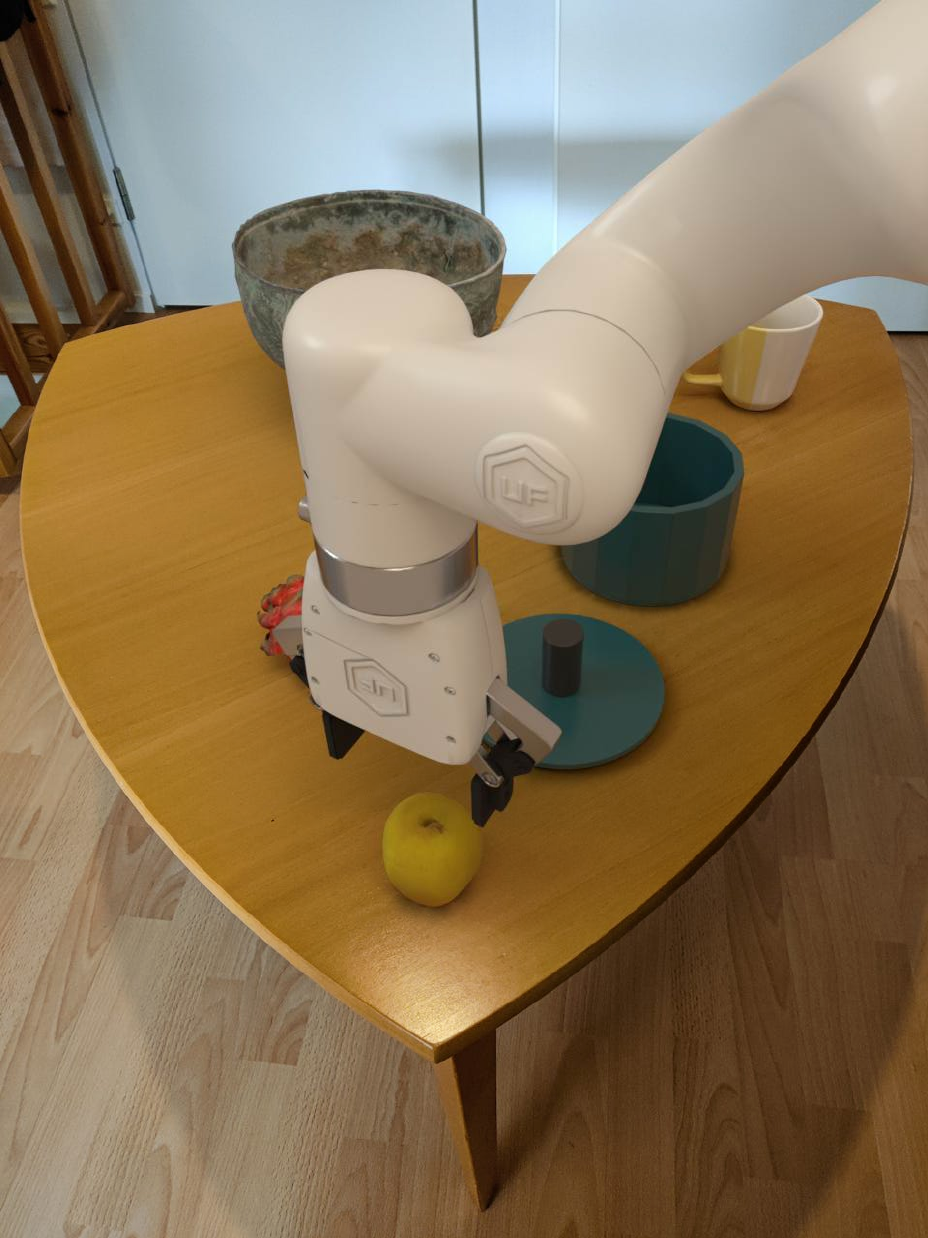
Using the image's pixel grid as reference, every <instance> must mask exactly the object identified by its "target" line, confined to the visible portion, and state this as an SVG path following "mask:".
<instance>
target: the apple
mask: <svg viewBox="0 0 928 1238" xmlns="http://www.w3.org/2000/svg"><path fill="white" fill-rule="evenodd" d="M392 810H393V811H391V813H390V815H389V816H388V818H387V819H386V821H385V824H384V827H383V833H382V837H381V838H382V839H381V851H382V853H381V854H382V860H383V866H384V871H385V874H386V876H387V878H388V880H389V882H390V883H391V885H393V886H394V888H395V889H397V890H398V892H400V893H401V894H402V895H403V896H404V897H405V898H407V899H409V900H410V901H412V902H414V903H416V904H420V905H423V906H427V907H430V908H431V907H432V908H438V907H441V906H444V905H447V904H449V903H450V902H452V901H453V900H454V899H455V900H456V898H457V897H458V896H459V895H460V894H461V893H462V892H463V890H464V889H465V888H466V887H467V886H468V885H469V883H470V882H471V881H472V880H473V878H474V876H475V875H476V873H477V872H478V870H479V867H480V865H481V862H482V858H483V840H482V835H481V831H480V828H479V826H478V825H476V824H474V821H473V820H472V813H470V812H469V811H468V809H467V808H466V807H465V806H464V805H463V804H461V803H460V802H458V801H456V800H454V799H453V798H451V797H449V796H447V795H445V794H441V793H438V792H437V793H436V792H431V791H429V792H428V791H427V792H425V791H424V792H417V793H414V794H412V795H410V796H408V797H406V798H404V799H403V800H402V801H400V802H399V803H398V804H397V805H396V806H395V807H394V809H392Z"/></svg>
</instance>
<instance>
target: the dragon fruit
mask: <svg viewBox="0 0 928 1238" xmlns="http://www.w3.org/2000/svg"><path fill="white" fill-rule="evenodd" d="M304 577H305V575H302V574H293V575H290V576H288V577H287V579H286V583H279V584H278V585H277V586H276V587H272V588H271V590H270V592H268V593H267V594H264V595H262V599H261V600H260V607H261V610H262V611H263V612H265V613H260V611H261V610H258V611H257V612H256V615H257V621H258V624H259V625H260V627H261V628H263V629H265V630H268V632H267V633H266V634H265V638H264V640H263V642H262V643H261V644H260V645H259V646H260V647H259V649H260V650H261V651H262V652H264V654H265V655H266V656H267V657H271V656H275V655H279V654H283V655H284V656H285V657H286V658H287V659H288V661H289V662H290V661H291V658H290V657H289V656H286V654H285V653H284V651H283V650H282V648H281V646H280V645H279V643H278V642H277V640H276V639H275V637H274V635H273V633H272V630H273V629H274V628H275V627H276V626H277V625H278V624H279V623H280V622H281V621H282V620H283V619H284V618H285V617H286V616H290V615H302V595H303V585H304Z"/></svg>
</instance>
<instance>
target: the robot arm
mask: <svg viewBox="0 0 928 1238" xmlns="http://www.w3.org/2000/svg"><path fill="white" fill-rule="evenodd" d="M867 277H868V278H869V277H885V278H894V279H898V280H902V281H907V282H910V283H914V284H915V283H916V284H918V285H919V284H920V285H924V286H927V287H928V0H880V1H879V2H877V3H876V4H875V5H873V6H872V7H871V8H870V9H869V10H867V11H866V12H864V13H863V14H862V15H861V16H860V17H858V18H857V19H856V20H855V21H853V23H850V25H848V26H847V27H846V28H845V29H843V30H842V31H841V32H840V33H839V34H837V35H836V36H835V37H833V38H832V39H831V40H829V41H828V42H826V43H825V44H824V45H822V46H821V47H819V48H818V49H817V50H815V51H813V52H812V53H810V54H809V55H807V56H806V57H804V58H803V59H801V60H798V62H796V63H795V64H793V65H792V66H791V67H789V68H788V69H787V70H785V71H784V72H783V73H781V74H780V75H779V76H778V77H777V78H776V79H774V80H773V81H772V82H770V84H767V86H765V87H764V88H763V89H762V90H760V91H759V92H757V93H756V94H754V95H753V96H752V97H750V98H749V99H748V100H746V101H745V102H742V103H741V104H740V105H738V106H737V107H736V108H734V109H733V110H731V111H730V112H729V113H727V114H725V115H724V116H722V117H721V118H720V119H718V120H716V122H714V123H712V124H711V125H709V126H708V127H707V128H705V129H704V130H703V131H701V132H700V133H699V134H698V135H696V136H695V137H693V138H692V139H691V140H689V141H688V142H687V143H685V144H684V145H682V146H681V148H679V149H677V150H676V152H674V153H672V155H670V156H669V157H668V158H666V159H665V160H664V161H663V162H662V163H660V164H659V165H658V166H657V167H656V168H654V169H653V170H652V171H650V172H649V173H648V174H647V175H646V176H644V178H643V179H641V180H640V181H638V183H636V184H635V185H633V187H631V188H630V189H629V190H628V191H627V192H626V193H624V194H623V195H622V196H621V197H619V198H618V199H617V200H616V201H615V202H614V203H612V204H611V205H610V206H608V208H606V209H605V210H604V211H603V212H602V213H600V214H599V215H598V216H596V218H594V219H593V220H592V221H591V222H590V223H589V224H587V225H586V226H585V227H583V229H581V230H580V231H579V232H578V233H576V235H574V236H573V237H572V238H571V239H570V240H569V241H567V242H566V243H565V244H564V245H563V246H562V247H560V249H559V250H558V251H557V252H556V253H555V254H553V256H551V258H550V259H548V260H547V262H545V263H544V265H542V267H541V268H540V269H539V270H538V272H536V274H535V275H534V276H533V277H532V279H530V282H529V283H528V284H527V285H526V287H525V288H524V290H523V291H522V292H521V294H520V295H519V297H518V298H517V300H516V301H515V302H514V304H513V305H512V307H511V308H510V310H509V312H508V313H507V315H506V316H505V318H504V320H503V321H502V322H501V324H500V326H499V327H498V329H497V330H494V331H493V332H491V333H490V334H488V335H486V336H484V337H481V338H478V337H476V336H474V331H473V324H472V320H471V317H470V314H469V312H468V310H467V308H466V306H465V304H464V302H463V301H462V299H461V298H460V297H459V296H458V294H457V293H456V292H455V291H453V290H452V289H451V288H450V287H448V286H447V285H445V284H444V283H442V282H440V281H439V280H437V279H434V278H432V277H430V276H427V275H424V274H421V273H417V272H412V271H407V270H397V269H371V270H363V271H356V272H350V273H345V274H342V275H338V276H335V277H332V278H329V279H327V280H324V281H322V282H320V283H318V284H316V285H315V286H313V287H312V288H310V289H309V290H307V291H306V292H305V293H304V294H302V295H301V296H300V297H299V298H298V299H297V300H296V301H295V303H294V304H293V306H292V308H291V309H290V311H289V313H288V315H287V317H286V320H285V324H284V329H283V337H282V343H283V353H284V362H285V369H286V371H285V374H286V380H287V386H288V392H289V399H290V404H291V405H290V406H291V410H292V417H293V423H294V428H295V435H296V441H297V447H298V452H299V453H298V454H299V459H300V465H301V471H302V478H303V483H304V489H305V495H304V496H303V497H302V498H301V499H300V502H299V504H298V507H297V515H298V518H299V519H300V520H301V521H304V522H307V523H309V524H310V526H311V530H312V537H313V543H314V549H315V550H313V551H312V552H311V553H310V555H309V557H308V558H307V561H306V563H305V569H304V570H305V571H304V585H303V595H302V615H290V616H286V617H285V618H284V619H283V620H282V621H281V622H280V623H279V624H278V625H277V626H276V627H275V628H274V629H273V630H272V633H273V635H274V637H275V639H276V640H277V642H278V643H279V645H280V646H281V648H282V650H283V651H284V653H285V654H286V656H289V657H290V658H291V661H290V660H289V662H288V663H289V668H290V669H291V672H292V673H293V674H295V675H296V676H297V678H298V679H300V681H301V682H302V683H303V684H304V685H305V686H306V687H307V689H309V691H310V694H309V695H308V701H309V703H310V704H311V705H312V706H313V707H314V708H315V709H317V710H319V711H321V713H322V714H321V718H322V724H323V729H324V735H325V741H326V745H327V751H328V755H329V757H330V758H332V759H335V760H337V761H338V760H342V759H344V758H345V757H346V755H347V754H348V753H349V752H350V751H351V750H352V748H353V747H354V746H355V745H356V743H357V742H358V741H359V740H360V738H361V737H362V736H363V735H364V734H365V732H368V733H370V734H372V735H375V736H377V737H379V738H381V739H384V740H386V741H388V742H390V743H392V744H395V745H397V746H399V747H402V748H404V749H406V750H408V751H411V752H413V753H415V754H418V755H420V756H422V757H425V758H427V759H429V760H431V761H434V762H438V763H441V764H445V765H451V766H463V765H467V764H468V765H469V766H470V767H471V768H472V769H473V771H474V772H475V774H474V776H472V779H471V780H470V802H471V803H470V806H471V807H470V808H471V810H470V811H471V815H472V820H473V821H474V824H476V825H477V826H478V827H480V828H484V827H485V826H486V825H487V823H488V822H489V820H490V818H492V816H493V814H494V812H495V811H497V812H499V813H502V812H504V811H505V809H506V808H507V806H508V804H509V803H510V801H511V799H512V797H513V795H514V783H515V782H514V780H515V779H514V778H516V777H520V776H523V775H527V774H529V773H531V772H532V770H533V768H534V767H536V766H535V765H537V764H539V763H540V762H541V761H542V760H543V759H545V758H546V757H547V756H548V755H549V754H550V753H551V752H552V751H553V749H554V747H555V746H556V744H557V743H558V741H559V740H560V738H561V737H562V735H563V734H562V730H561V729H560V728H559V727H558V726H557V725H556V724H555V723H553V722H552V721H551V720H550V719H548V718H547V717H546V716H545V715H543V714H542V713H541V712H540V711H538V710H537V709H536V708H535V707H533V706H532V705H531V704H530V703H528V702H527V701H526V700H525V699H523V698H522V697H521V696H520V695H518V694H517V693H516V692H515V691H513V690H512V689H511V688H510V687H508V686H507V665H506V654H505V645H504V637H503V629H502V626H503V624H502V619H501V614H500V607H499V605H498V599H497V596H496V592H495V589H494V585H493V582H492V578H491V576H490V572H489V571H488V569H486V568H485V567H483V566H482V565H481V564H479V562H480V561H479V527H478V525H479V523H478V522H480V523H481V524H484V525H486V526H487V527H491V528H493V529H494V530H495V529H496V530H498V531H500V532H502V533H505V534H508V535H511V536H513V537H516V538H519V539H522V540H526V541H530V542H534V543H537V544H542V545H543V544H544V545H553V546H561V545H576V544H580V543H585V542H589V541H592V540H594V539H597V538H599V537H601V536H603V535H605V534H606V533H608V532H609V531H611V530H612V529H613V528H615V527H616V526H617V525H618V524H619V523H620V522H621V521H622V520H623V519H624V517H625V516H626V515H627V514H628V512H629V511H630V510H631V508H632V506H633V504H634V503H635V501H636V499H637V497H638V495H639V493H640V491H641V489H642V486H643V483H644V480H645V478H646V475H647V472H648V469H649V466H650V463H651V460H652V457H653V454H654V451H655V449H656V446H657V443H658V440H659V437H660V434H661V431H662V428H663V424H664V421H665V419H666V416H667V413H669V411H670V407H671V404H672V401H673V400H674V399H673V398H674V396H675V392H676V390H677V387H678V385H679V382H680V380H681V374H682V373H683V372H685V371H686V370H687V371H688V369H690V368H691V367H692V366H693V365H695V364H696V363H697V362H698V361H700V360H701V359H703V358H704V357H706V356H707V355H709V354H710V353H711V352H713V351H714V350H716V349H717V348H719V346H720V345H722V344H723V343H724V342H726V341H727V340H729V339H730V338H732V337H733V336H735V335H736V334H738V333H739V332H741V331H743V330H744V329H746V328H747V327H749V326H751V325H752V324H754V323H755V322H757V321H758V320H760V319H761V318H763V317H765V316H766V315H768V314H770V313H771V312H773V311H775V310H776V309H778V308H780V307H781V306H783V305H785V304H787V303H789V302H791V301H793V300H795V299H797V298H799V297H801V296H803V295H805V294H807V295H808V294H809V293H812V292H814V291H816V290H819V289H822V288H824V287H827V286H830V285H833V284H836V283H840V282H843V281H848V280H853V279H857V278H867ZM286 656H285V657H286ZM486 733H488V734H489V735H490V737H491V738H492V739H493V741H494V742H495V743H496V745H494V746H493V748H492V747H491V749H490V750H489V752H487V750H486V749H485V747H484V746H483V745H482V741H483V740H482V739H483V737H484V736H485V735H486ZM518 737H519V738H518Z"/></svg>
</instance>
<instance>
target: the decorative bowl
mask: <svg viewBox="0 0 928 1238" xmlns="http://www.w3.org/2000/svg"><path fill="white" fill-rule="evenodd" d="M231 250H232V257H233V264H234V279H235V282H236V286H237V289H238V293H239V299H240V301H241V306H242V309H243V313H244V316H245V319H246V322H247V325H248V327H249V329H250V332H251V334H252V336H253V338H254V339H255V341H256V343H257V344H258V345H259V347H260V349H261V350H262V351H263V352H264V353H265V354H266V356H268V358H269V359H270V360H271V361H272V362H273V363H274V364H276V365H277V366H278V367H280V368H281V369H282V370H284V371H285V372H286V369H285V362H284V353H283V343H282V337H283V329H284V324H285V320H286V317H287V315H288V313H289V311H290V309H291V308H292V306H293V304H294V303H295V301H296V300H297V299H298V298H299V297H300V296H301V295H302V294H304V293H305V292H306V291H307V290H309V289H310V288H312V287H313V286H315V285H316V284H318V283H320V282H322V281H324V280H327V279H329V278H332V277H335V276H338V275H342V274H345V273H350V272H356V271H363V270H371V269H397V270H407V271H412V272H417V273H421V274H424V275H427V276H430V277H432V278H434V279H437V280H439V281H440V282H442V283H444V284H445V285H447V286H448V287H450V288H451V289H452V290H453V291H455V292H456V293H457V294H458V296H459V297H460V298H461V299H462V301H463V302H464V304H465V306H466V308H467V310H468V312H469V314H470V317H471V320H472V324H473V331H474V336H476V337H478V338H481V337H484V336H486V335H488V334H491V333H492V331H493V328H494V326H495V324H496V321H497V318H498V313H497V306H498V303H499V297H500V292H501V287H502V281H503V273H504V266H505V265H504V263H505V258H506V254H507V250H508V249H507V243H506V240H505V237H504V235H503V233H502V232H501V230H500V229H499V227H497V226H496V225H495V223H494V222H493V220H491V219H489V218H488V217H486V216H485V215H483V214H482V213H480V212H478V211H476V210H474V209H472V208H470V207H467V206H465V205H463V204H460V203H458V202H455V201H452V200H449V199H445V198H442V197H440V196H436V195H433V194H428V193H420V192H414V191H409V190H391V189H390V190H387V189H359V190H358V189H357V190H353V189H352V190H346V191H335V192H332V193H321V194H316V195H312V196H307V197H302V198H298V199H294V200H291V201H288V202H284V203H281V204H278V205H275V206H272V207H268V208H266V209H263V210H262V211H259V212H258V213H256V214H254V215H252V217H251V218H249V219H246V220H245V222H244V223H243V224H240V225H239V227H238V230H236V232H235V234H234V239H233V242H232V243H231Z"/></svg>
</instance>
